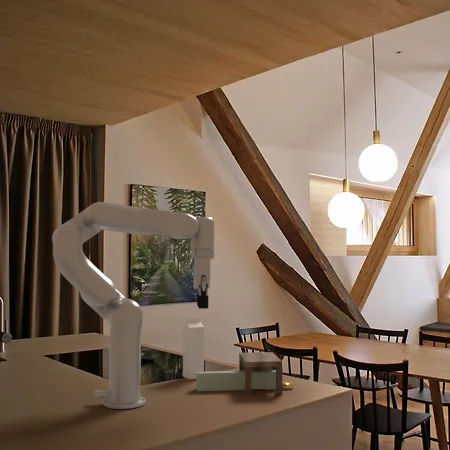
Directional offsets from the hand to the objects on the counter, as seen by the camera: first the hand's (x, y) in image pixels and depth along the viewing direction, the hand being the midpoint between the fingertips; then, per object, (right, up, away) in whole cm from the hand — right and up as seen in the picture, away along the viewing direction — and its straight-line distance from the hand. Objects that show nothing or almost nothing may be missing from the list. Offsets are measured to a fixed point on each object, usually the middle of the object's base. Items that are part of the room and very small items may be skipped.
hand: (202, 307), depth 172 cm
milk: (-4, -30, +25) cm, 40 cm away
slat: (+12, -29, +7) cm, 32 cm away
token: (+28, -29, +8) cm, 41 cm away
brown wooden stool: (+19, -29, +8) cm, 36 cm away
